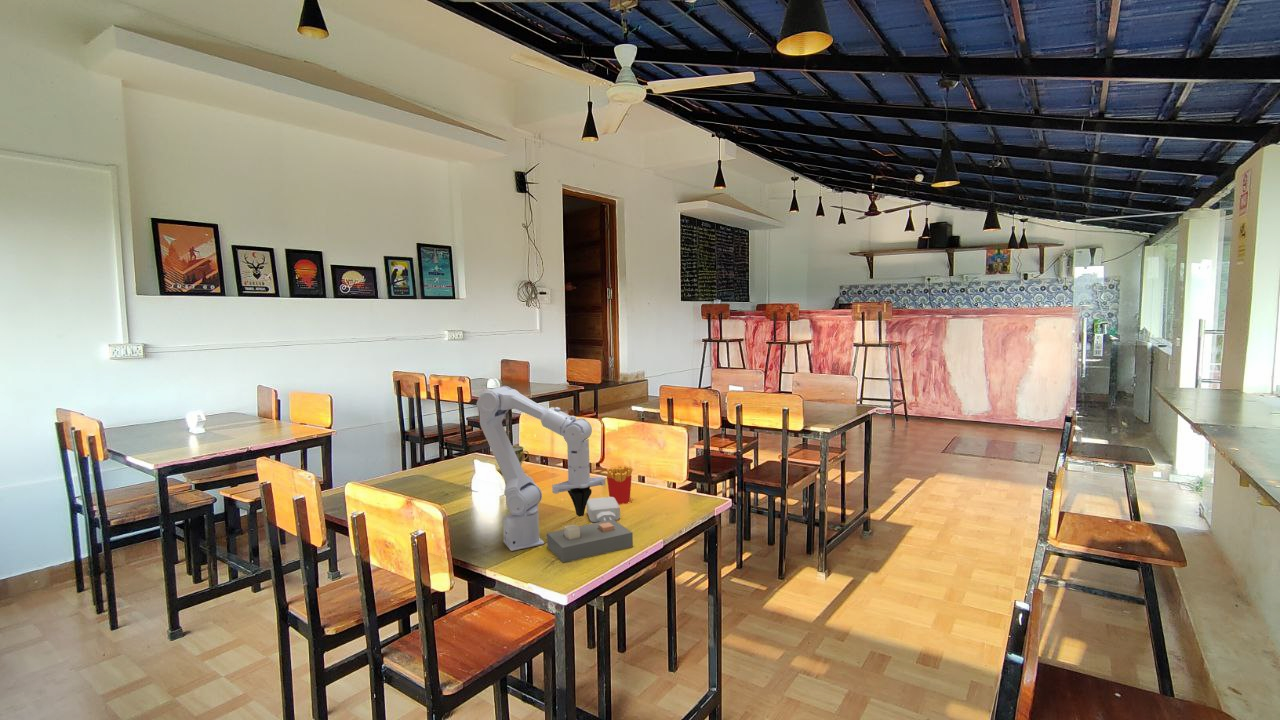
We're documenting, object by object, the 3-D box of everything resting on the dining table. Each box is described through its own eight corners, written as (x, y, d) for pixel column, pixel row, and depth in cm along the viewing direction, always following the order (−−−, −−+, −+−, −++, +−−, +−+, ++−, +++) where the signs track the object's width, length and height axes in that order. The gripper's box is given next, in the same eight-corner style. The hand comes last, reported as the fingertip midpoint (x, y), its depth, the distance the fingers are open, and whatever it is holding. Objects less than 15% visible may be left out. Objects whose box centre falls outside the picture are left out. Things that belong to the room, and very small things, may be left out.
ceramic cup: (493, 475, 240) (492, 450, 239) (507, 469, 249) (505, 444, 248) (523, 477, 236) (522, 452, 235) (535, 471, 245) (534, 446, 244)
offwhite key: (568, 541, 162) (568, 530, 161) (564, 537, 165) (564, 526, 164) (580, 538, 163) (579, 527, 163) (575, 535, 166) (575, 524, 166)
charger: (592, 530, 180) (586, 513, 194) (623, 527, 181) (615, 510, 196) (592, 514, 179) (586, 498, 194) (623, 511, 181) (615, 496, 196)
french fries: (609, 505, 201) (608, 469, 200) (606, 501, 205) (605, 466, 204) (634, 502, 203) (633, 467, 202) (631, 498, 207) (630, 464, 206)
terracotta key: (603, 538, 166) (603, 528, 166) (598, 535, 169) (598, 524, 169) (614, 536, 168) (613, 525, 168) (609, 532, 171) (608, 522, 171)
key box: (563, 562, 157) (562, 547, 156) (547, 547, 167) (546, 532, 167) (632, 546, 166) (632, 532, 166) (613, 532, 176) (613, 519, 176)
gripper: (558, 472, 156) (560, 524, 158) (609, 464, 163) (610, 514, 165) (548, 466, 163) (550, 516, 164) (598, 459, 169) (599, 507, 171)
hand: (580, 515), depth 165 cm, fingers closed
